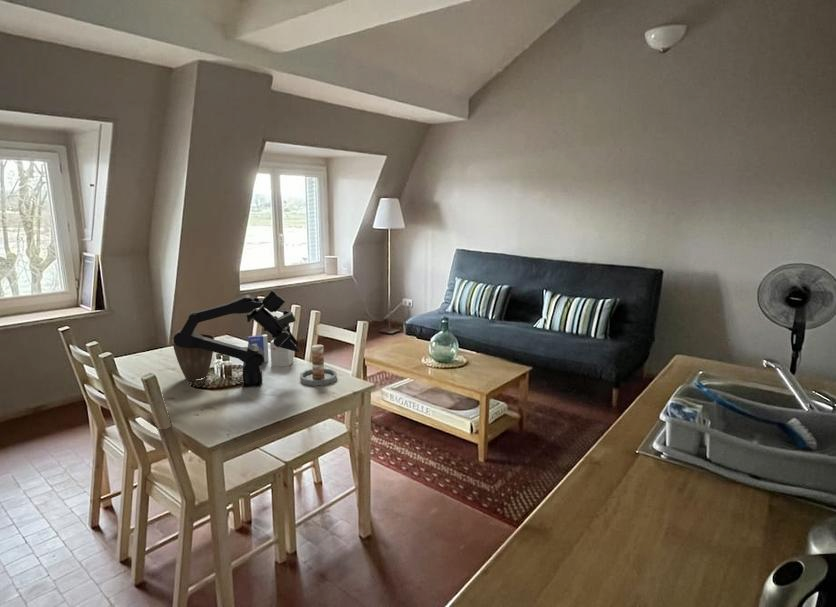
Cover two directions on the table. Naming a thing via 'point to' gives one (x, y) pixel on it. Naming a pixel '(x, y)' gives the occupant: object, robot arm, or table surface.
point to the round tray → (307, 379)
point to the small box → (280, 355)
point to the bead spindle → (318, 362)
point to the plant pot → (194, 360)
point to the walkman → (260, 344)
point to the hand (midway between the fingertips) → (297, 347)
